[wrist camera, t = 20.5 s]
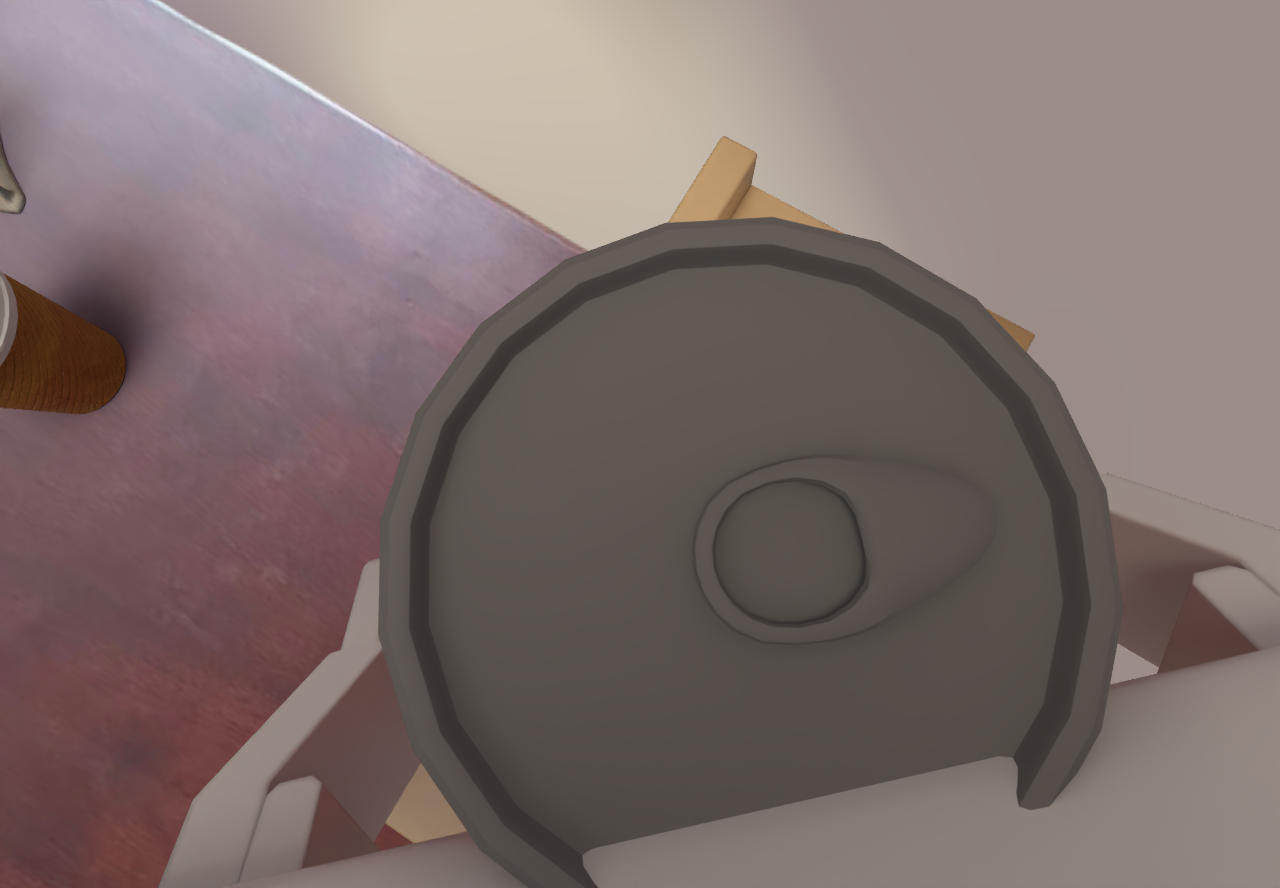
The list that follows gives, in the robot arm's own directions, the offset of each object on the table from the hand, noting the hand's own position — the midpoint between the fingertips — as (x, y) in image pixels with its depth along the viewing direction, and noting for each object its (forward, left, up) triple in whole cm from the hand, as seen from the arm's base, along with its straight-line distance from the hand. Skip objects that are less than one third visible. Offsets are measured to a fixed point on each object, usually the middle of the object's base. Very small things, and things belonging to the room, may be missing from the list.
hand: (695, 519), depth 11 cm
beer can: (-1, 0, -7) cm, 7 cm away
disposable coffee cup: (-1, +44, -37) cm, 57 cm away
